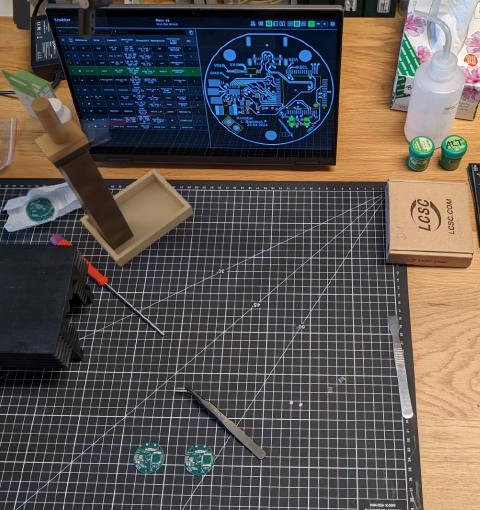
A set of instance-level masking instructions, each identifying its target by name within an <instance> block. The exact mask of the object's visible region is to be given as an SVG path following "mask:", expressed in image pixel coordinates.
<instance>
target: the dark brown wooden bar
mask: <svg viewBox="0 0 480 510" xmlns="http://www.w3.org/2000/svg"><path fill="white" fill-rule="evenodd" d="M57 170H58V172H59V174H60V175H61V176H62V177H63V179H64V181H65V183H66V184H67V185H68V187H69V189H70V190H71V192H72V194H73V195H74V196H75V198H76V200H77V201H78V203H79V204H80V206H81V207H82V209H83V211H84V212H85V215H88V217H89V218H90V220H91V222H92V223H93V225H94V226H95V228H96V229H97V231H98V233H99V234H100V236H101V237H102V238H103V239H104V240H105V241H106V242H107V243H108V245H109V246H110V247H111V248H112V249H113V250H115V249H117V248H118V247H119V246H121V245H122V244H124V243H125V242H126V241H128V240H129V239H131V238H132V237H133V236H134V235H133V233H132V231H131V229H130V227H129V225H128V224H127V222H126V220H125V218H124V216H123V214H122V212H121V211H120V209H119V207H118V205H117V203H116V201H115V199H114V198H113V196H114V195H113V193H112V192H111V190H110V188H109V187H108V185H107V183H106V181H105V179H104V177H103V175H102V173H101V172H100V170H99V168H98V165H97V164H96V162H95V160H94V158H93V156H92V155H91V153H90V151H89V150H88V151H86V152H84V153H83V154H81V155H79V156H78V157H76V158H74V159H73V160H71V161H69V162H68V163H66V164H64V165H62V166H61V167H59V168H57Z"/></svg>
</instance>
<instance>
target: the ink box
mask: <svg viewBox="0 0 480 510" xmlns="http://www.w3.org/2000/svg"><path fill="white" fill-rule="evenodd" d="M0 72H1V73H2V75H3V76H4V77H5V79H6V80H7V82H8V84H9V85H10V87H11V89H12V90H13V92H14V94H15V95H16V97H17V98H18V100H19V102H20V103H21V105H22V107H23V108H24V110H25V111H26V113H27V115H28V116H30V117H32V118H35V119H37V120H39V119H38V118H37V116H36V114H35V113H34V111H33V109H32V108H31V103H32V101H33V100H34V99H36V98H39V97H45V98H47V99H49V98H57V99H58V97H57V95H56V93H55V90H54V89H53V87H52V85H51V83H50V82H49V81H48V80H45V79H44V78H41V77H39V76H37V75H35V74H32V73H30V72H28V71H26V70H24V69H21V68H20V69H19V70H18V71H17V72H16V73H15V74H14V73H12V72H10V71H7V70H5V69H2V68H0Z"/></svg>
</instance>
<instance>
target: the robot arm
mask: <svg viewBox="0 0 480 510" xmlns="http://www.w3.org/2000/svg"><path fill="white" fill-rule="evenodd" d="M111 1H112V0H77V2H78V4H79V5H80V7H81V8H78V17H77V18H78V19H77V20H78V23H77V24H78V27H77V35H78V39H79V40H80V39H81V40H87V41H90V40H91V39H92V37H93V36H94V35H95V32H96V11H98V9H102V8H108V7H110V6H111ZM12 21H13V24H14V25H15V26H16V29H17V30H20V31H21V30H22V31H30V30H31V27H32V26H31V24H32V23H31V1H30V0H12Z"/></svg>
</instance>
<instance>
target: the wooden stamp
mask: <svg viewBox="0 0 480 510" xmlns="http://www.w3.org/2000/svg"><path fill="white" fill-rule="evenodd" d="M31 108H32V109H33V111H34V113H35V114H36V116H37V118H38V119H37V118H36V119H37V120H38V121H39V123H40V124H41V126H42V128H43V129H44V131H45V133H44V134H42V135H40V136H38V137H36V138H35V139H34V142H35V143H36V146H37V147H38V148H39V150H40V151H41V152H42V154H44V156H45V157H46V158H47V159H48V161H49V162H50V164H52V165H53V166H54V167H55V168H56V169H58V168H59V167H61V166H62V165H64V164H66V163H68V162H69V161H71V160H73V159H74V158H76V157H78V156H79V155H81V154H83V153H84V152H86V151H89V150H91V146H90V144H89V143H90V141H89V139H88V137H87V135H86V134H85V133H84V132H83V130H81V128H80V126H79V125H78V124H77V125H78V126H79V127H78V126H77V125H76V124H75V122H74V121H73V120H72V119H70V120H68V121H67V122H65V123H63V124H62V123H61V121H60V119H59V117H58V116H57V114H56V112H55V110H54V109H53V107H52V105H51V103H50V101H49V100H48V99H47V98H45V97H39V98H36V99H34V100H33V101H32V103H31Z"/></svg>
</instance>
